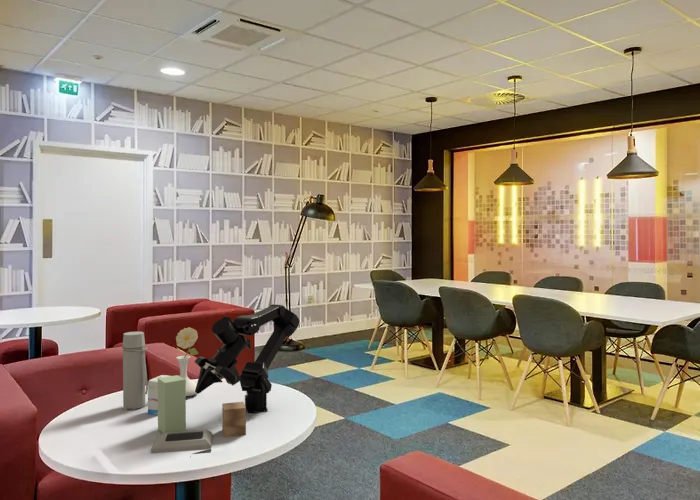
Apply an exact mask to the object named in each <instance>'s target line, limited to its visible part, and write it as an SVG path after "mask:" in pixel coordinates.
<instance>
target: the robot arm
mask: <svg viewBox="0 0 700 500" xmlns="http://www.w3.org/2000/svg"><path fill="white" fill-rule="evenodd" d="M270 322H272V323H273V324H272V325H273V331H272V332H271V335H270V336H269V338H268V340H267V342H266V343H265V344H264V346H263V347H262V348H261V349H262V350H261V351H260V353H259V355H258V356H257V358H256V359H255V361H247V362H246V363H245V365H244V367H243V368H242V369H241V373H239V371H238V369H237V367H236V365H237V363H238V360H237V358H238V357H239V355H240V354H241V353H242V352H243V351H244V350H245V348H247V349H249V350H250V349H251V348H252V345H251V339H249V338H246V337H245V336H249V337H250V336H251V337H253V336H254V335H255V334H257V333H258V332H259V331H260V328H261V327H262V326H264V325H266V324H268V323H270ZM299 326H300V319H299V317H298V315H297V314H295V313H294V312H292V311H291V310H290V309H288V308H286V307H285V305H283V304H273V303H272V304H270V305H269V306H268V307H265V308H264V309H261V310H259V311H257V312H255V313H253V314H249V315H248V314H247V315H246V314H245V315H239V316H236V317H235V318H234V319H233V320H232V319H231V317H230V316H227V315H223V317H222V318H221V319H218V320H217V321H216V322H215V323H213V324H212V327H211V332H212V333H213V334H214V335H215V336H216V338H217V339H218V340H219V341H220V342H221V344H223V345H222V346H221V347H219V346H218V347H217V348H216V351H217V352H216V354H214V356H213V357H209V358H207V357H204V356H198V357H197V358H196V359H195V360H194V363H195V364H196V365H197V366H198V367H199V368H200V369H199V373H198V379H197V382H196V384H197V386H196V389H195V392H196V394H197V395H199V394H200V393H202V392H204V390H206V389H208V388H209V387H210V386H211V385H213V384H215V383H216V384H217V383H220V384H221V383H224V382H223V379H225V382H226V383H227V384H228V385H231V386H235V385H237V384H238V383H240V389H241V391H242V392H246V393H245V394H246V395H244V405H245V407H246V413H249V414H251V413H260V412H267V411H269V410H268V406H267V405H268V404H267V402H268V401H267V396H268V395H267V394H270V392H271V390H272V387H273V385H272V382H270V380H269V379H268V378H269V367H270V366H271V364H272V363H273V360H274V359H275V358H276V355H277V353H278V352H279V351H280V349H281V347H282V345H283V343H284V341H285V340H286V339H287V337H289V336H291V335H293V334H295V332H296V331H297V329H298V328H299Z"/></svg>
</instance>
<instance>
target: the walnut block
mask: <svg viewBox="0 0 700 500" xmlns="http://www.w3.org/2000/svg"><path fill="white" fill-rule="evenodd" d="M221 404H222V405H221V406H222V407H221V408H222V410H221V411H222V412H221V414H222V416H221V417H222V420H221V422H222V423H221V426H222V427H221V428H222V429H221V430H222V434H223V437H224V438H228V437H229V438H230V437H239V436H245V435H247V410H246V407H245V402H244V401H236V402H235V401H234V402H223V403H221Z"/></svg>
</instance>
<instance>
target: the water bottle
mask: <svg viewBox="0 0 700 500" xmlns="http://www.w3.org/2000/svg"><path fill="white" fill-rule="evenodd" d="M148 348H149V347H148V346H147V345H146V339H145V332H143V331H128V332H124V333H123V337H122V346H121V349H122V389H123V390H122V392H123V393H122V398H123V400H122V405H123V406H122V407H123V408H124V409H126V410H138V409H141V408H143V407H145V406H146V395H148V382H149V381H148V373H147V364H146V363H147V362H146V350H148Z"/></svg>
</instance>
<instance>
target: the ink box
mask: <svg viewBox="0 0 700 500" xmlns="http://www.w3.org/2000/svg"><path fill="white" fill-rule="evenodd" d="M170 376H171V375H166V374H161V375H158V376H156V377H153V378H151V379H149V380H148V381H147V382H148V392H147V415H151V416H152V415H153V416H154V415H155V416H158V378H163V377H170Z"/></svg>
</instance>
